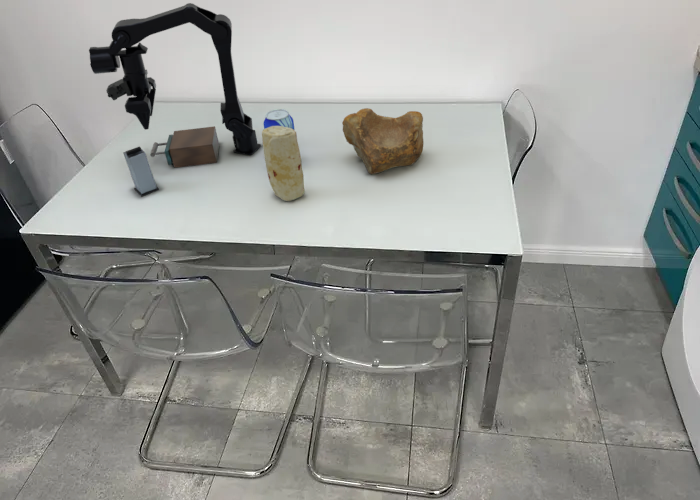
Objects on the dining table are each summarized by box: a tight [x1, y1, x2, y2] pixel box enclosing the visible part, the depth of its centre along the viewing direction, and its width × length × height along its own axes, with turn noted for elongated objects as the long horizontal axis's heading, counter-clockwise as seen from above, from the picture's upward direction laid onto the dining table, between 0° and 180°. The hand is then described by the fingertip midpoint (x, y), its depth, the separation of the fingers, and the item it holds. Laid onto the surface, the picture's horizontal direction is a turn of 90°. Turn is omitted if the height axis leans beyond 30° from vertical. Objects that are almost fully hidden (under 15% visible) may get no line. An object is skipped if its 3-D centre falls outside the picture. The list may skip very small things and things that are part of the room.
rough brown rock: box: [341, 107, 424, 175], centre depth 158 cm, size 23×17×15 cm
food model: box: [261, 126, 306, 202], centre depth 147 cm, size 10×7×20 cm
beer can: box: [262, 108, 296, 131], centre depth 162 cm, size 8×8×16 cm
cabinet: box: [169, 126, 220, 169], centre depth 173 cm, size 13×12×6 cm
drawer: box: [149, 134, 174, 166], centre depth 173 cm, size 17×11×5 cm, turn 97°
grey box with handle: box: [122, 146, 160, 198], centre depth 157 cm, size 5×5×13 cm
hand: (148, 122), depth 165 cm, fingers open, 9 cm apart
